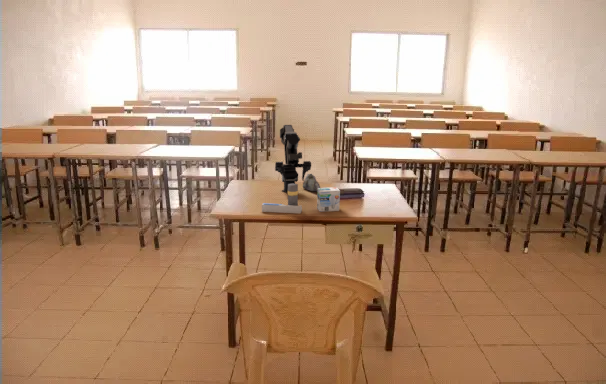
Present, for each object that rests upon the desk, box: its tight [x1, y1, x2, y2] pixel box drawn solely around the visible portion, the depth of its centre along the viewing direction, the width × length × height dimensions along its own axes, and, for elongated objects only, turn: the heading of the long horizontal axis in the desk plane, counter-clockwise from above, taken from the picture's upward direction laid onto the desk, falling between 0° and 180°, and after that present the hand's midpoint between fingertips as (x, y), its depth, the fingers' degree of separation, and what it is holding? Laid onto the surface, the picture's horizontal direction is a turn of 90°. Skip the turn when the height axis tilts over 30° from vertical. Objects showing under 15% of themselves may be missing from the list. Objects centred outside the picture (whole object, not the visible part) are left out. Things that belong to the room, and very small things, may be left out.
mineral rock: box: [302, 173, 321, 192], centre depth 265 cm, size 13×11×10 cm
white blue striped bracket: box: [261, 202, 303, 214], centre depth 229 cm, size 20×4×4 cm, turn 83°
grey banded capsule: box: [287, 183, 299, 206], centre depth 231 cm, size 5×5×13 cm
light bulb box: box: [316, 186, 341, 212], centre depth 232 cm, size 11×7×11 cm, turn 101°
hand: (294, 180), depth 236 cm, fingers open, 9 cm apart
